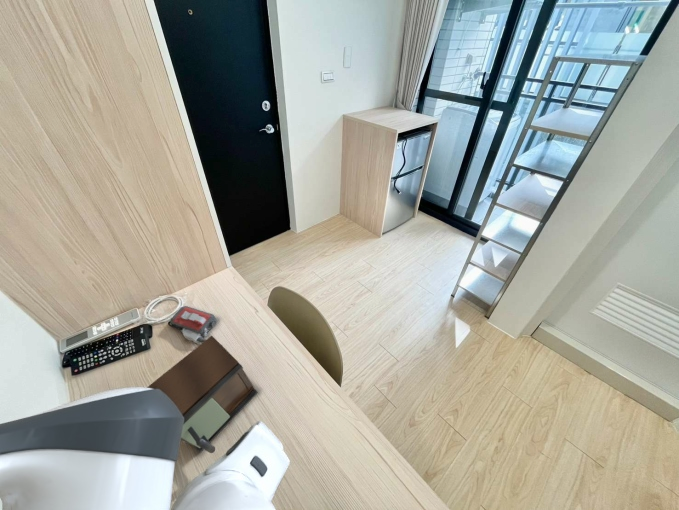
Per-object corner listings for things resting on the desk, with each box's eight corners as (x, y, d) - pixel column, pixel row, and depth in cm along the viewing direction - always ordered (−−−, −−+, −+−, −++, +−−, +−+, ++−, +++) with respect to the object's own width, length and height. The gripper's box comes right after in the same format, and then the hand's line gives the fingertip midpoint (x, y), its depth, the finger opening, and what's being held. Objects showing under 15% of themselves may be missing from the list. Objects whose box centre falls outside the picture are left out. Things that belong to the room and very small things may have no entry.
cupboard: (200, 453, 59) (167, 435, 48) (174, 417, 64) (139, 393, 53) (258, 392, 68) (241, 365, 57) (231, 365, 73) (211, 335, 62)
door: (210, 463, 56) (185, 450, 47) (198, 446, 59) (172, 431, 49) (241, 429, 61) (223, 412, 52) (228, 414, 63) (210, 395, 54)
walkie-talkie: (164, 332, 80) (221, 353, 75) (157, 324, 77) (216, 345, 72) (185, 308, 86) (239, 326, 81) (179, 300, 83) (235, 318, 78)
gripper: (125, 707, 21) (145, 610, 31) (299, 449, 34) (272, 441, 45) (71, 645, 21) (109, 569, 32) (265, 412, 34) (246, 413, 45)
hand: (206, 493), depth 38 cm, fingers open, 8 cm apart
